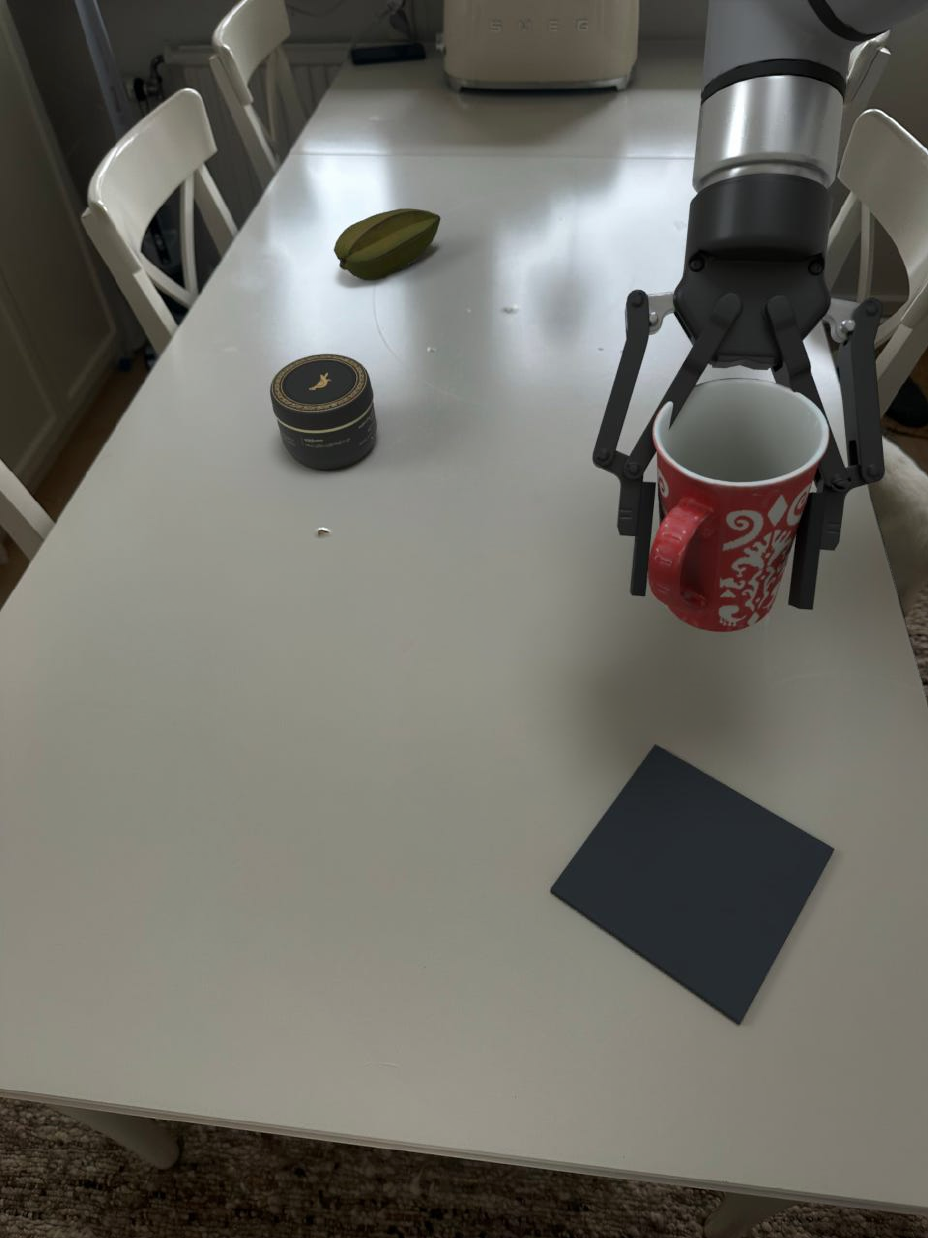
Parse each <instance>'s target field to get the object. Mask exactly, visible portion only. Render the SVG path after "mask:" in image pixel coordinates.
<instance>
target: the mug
mask: <svg viewBox="0 0 928 1238" xmlns="http://www.w3.org/2000/svg"><path fill="white" fill-rule="evenodd" d="M672 409H673V403H672V402H667V403H666V404H665V405H664V406H663V407H662V408H661V410H660V411H659V412H658V414H657V416H656V418H655V421H654V424H653V430H652V436H653V442H654V445H655V448H656V450H657V452H656V479H657V481H656V483H657V501H658V516H659V517H658V523H659V527H658V529H657V531H656V534H655V537H654V539H653V541H652V542H651V543H652V544H651V546H650V554H649V563H648V574H647V583H648V586H649V589H650V592H651V594H652V595H653V596H654V597H655V598H656V599H657V600H658V601H659V602H661V603H662V604H663V605H665V606H667V608H668V609H669V611H670V612H671V613H672V614H673V615H674V616H675V617H676V618H677V619H679V620H680V621H682V622H683V623H685V624H687V625H689V626H690V627H694V628H696V629H699V630H703V631H707V632H714V633H731V632H737V631H741V630H744V629H747V628H750V627H752V626H754V625H755V624H757V623H758V622H760V621H762V620H763V619H764V618H765V617H766V616H768V614H769V612H770V611H771V610H772V608H773V606H774V604H775V601H776V598H777V596H778V593H779V589H780V586H781V583H782V579H783V577H784V572H785V570H786V566H787V563H788V560H789V557H790V553H791V550H792V548H793V545H794V543H795V538H796V532H797V529H798V526H799V523H800V519H801V516H802V513H803V510H804V508H805V504H806V501H807V498H808V495H809V493H811V489H812V485H813V483H814V481H813V479H814V476H815V473H816V470H817V467H818V464H819V461H820V460H821V459H822V457H823V456H824V454H825V452H826V450H827V447H828V443H829V427H828V424H827V420H826V418H825V416H824V415H823V414H822V412H821V410H820V409H819V408H818V407H817V406H816V405H815V404H814V403H813V402H812V401H811V400H809V399H808V398H807V397H805V396H804V395H802V394H801V393H798V392H793V391H792V389H791V388H789V387H787V386H784V385H781V384H777V383H776V382H775V381H774V382H773V381H769V380H764V379H759V378H749V377H748V378H747V377H728V378H719V379H713V380H707V381H704V382H701V383H696V385H695V387H694V388H693V390H692V392H691V394H690V395H689V397H688V399H687V400H686V402H685V404H684V406H683V407H682V409H681V411H680V412H679V414H678V416H677V417H676V419H675V421H674V423H673V424H672V426H671V428H670V429H669V425H670V419H671V414H672Z"/></svg>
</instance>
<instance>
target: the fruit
mask: <svg viewBox="0 0 928 1238" xmlns="http://www.w3.org/2000/svg"><path fill="white" fill-rule="evenodd" d="M440 222H441V216H440V214H437V213H435V212H433V211H429V210H425V209H419V208H408V207H407V208H405V207H404V208H397V209H393V210H387V211H383V212H379V213H375V214H373V215H370V216H369V217H367V218H364V219H362V220H359V221H357V222H354V223H352V224H350V225H349V226H348V227H347V228H345V229H344V230H343V231H342V233H340V234H339V236H338V238H337V239H336V241H335V244H334V248H333V252H334V254H335V257H336V259H337V260H338V261H339V268H340V269H342V270H344V271H347V272H349V273H350V274H351V275H352V276H354V277H355V278H358V279H361V280H363V281H375V280H380V279H384V278H387V277H388V276H390V275H393V274H396V273H398V272H400V271H401V270H404V269H405V268H407V266H409V265H410V264H412V263H414V262H415V261H416V260H417V259H419V258H420V257H421V256H422V255H423V254H424V253H425V252H426V250H427V249H428V248H430V246H431V245H432V244H433V242H434V239H435V237H436V235H437V233H438V230H439V226H440Z"/></svg>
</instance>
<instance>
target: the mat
mask: <svg viewBox="0 0 928 1238" xmlns="http://www.w3.org/2000/svg"><path fill="white" fill-rule="evenodd" d="M834 851H835V847H832V846H831V845H829V844H827V843H825V842H824V841H822V840H820V839H819V838H817V837H815V836H814V835H812V834H810V833H808V832H807V831H805V830H803V829H801V828H800V827H798V826H797V825H795V824H793V823H792V822H790V821H788V820H787V819H784V818H783V817H781V816H780V815H778V814H776V813H774V812H773V811H771V810H770V809H767V808H766V807H764V806H763V805H761V804H759V803H757V802H755V801H753V800H752V799H750V798H748V797H747V796H745V795H744V794H742V793H741V792H739V791H736V790H735V789H733V788H732V787H730V786H728V785H727V784H724V783H723V782H721V781H719V780H718V779H717V778H715V777H712V776H711V775H709V774H707V773H706V772H704V771H702V770H700V769H699V768H697V767H696V766H694V765H692V764H690V763H689V762H687V761H686V760H683V759H682V758H680V757H678V756H676V755H675V754H673V753H672V752H670V751H668V750H666V749H665V748H663V747H661V746H660V745H658V744H656V743H655V744H654V745H653V746H652V748H651V749H650V750H649V752H648V753H647V754H646V755H645V757H644V759H643V760H642V761H641V762H640V764H639V765H638V767H637V769H636V770H635V771H634V772H633V774H632V775H631V777H630V778H629V779H628V781H627V782H626V783H625V785H624V786H623V788H622V789H621V790H620V792H619V793H618V794H617V796H616V797H615V799H614V800H613V801H612V803H611V804H610V806H609V807H608V809H606V811H605V813H604V814H603V815H602V817H601V818H599V820H598V822H597V824H596V825H595V827H594V828H593V829H592V830H591V832H590V833H589V834H588V836H587V837H586V838H585V840H584V842H583V843H582V844H581V846H580V847H579V848H578V850H577V851H576V852H575V854H574V855H573V857H572V858H571V859H570V861H569V862H568V863H567V865H566V866H565V868H564V869H563V870H562V872H561V873H560V874H559V876H558V878H557V879H556V880H555V881H554V883H553V884H552V885H551V887H550V890H549V892H550V893H551V894H552V895H554V896H555V897H557V898H558V899H559V900H561V901H563V902H564V903H565V904H566V905H568V906H569V907H571V908H572V909H574V910H575V911H576V912H577V913H580V914H581V915H582V916H584V917H585V918H587V920H589V921H591V922H592V923H594V924H595V925H597V927H599V928H600V929H602V930H603V931H605V932H606V933H607V934H609V935H610V936H611V937H613V938H615V939H616V940H618V941H619V942H621V943H622V944H624V945H625V946H626V947H628V948H629V949H630V950H632V951H633V952H635V953H636V954H637V955H639V956H640V957H642V958H643V959H645V960H646V961H647V962H649V963H650V964H651V965H653V966H654V967H656V968H657V969H659V970H660V971H662V972H663V973H664V974H666V975H667V976H668V977H670V978H672V979H673V980H674V981H676V982H677V983H679V984H680V985H681V986H683V987H685V989H687V990H689V991H690V992H691V993H693V994H694V995H696V996H697V997H698V998H700V999H701V1000H703V1001H704V1002H705V1003H707V1004H708V1005H710V1006H711V1007H712V1008H714V1009H715V1010H717V1011H718V1012H719V1013H720V1014H722V1015H724V1016H726V1017H727V1018H728V1019H730V1020H731V1021H732V1022H734V1023H735V1024H737V1025H740V1024H741V1023H742V1022H743V1020H744V1018H745V1017H746V1014H747V1013H748V1010H749V1009H750V1007H751V1005H752V1003H753V1002H754V999H755V997H756V996H757V995H758V992H759V990H760V988H761V986H762V984H763V983H764V981H765V979H766V977H767V975H768V973H769V972H770V970H771V968H772V966H773V965H774V963H775V960H776V958H777V957H778V955H779V954H780V951H781V949H782V948H783V946H784V944H785V942H786V940H787V938H788V937H789V934H790V933H791V931H792V929H793V927H794V925H795V924H796V922H797V920H798V918H799V916H800V914H801V912H802V911H803V909H804V907H805V905H806V903H807V901H808V899H809V898H810V896H811V894H812V893H813V890H814V889H815V886H816V884H817V883H818V881H819V879H820V878H821V875H822V873H823V872H824V870H825V868H826V866H827V864H828V862H829V861H830V858H831V857H832V855H833V853H834Z"/></svg>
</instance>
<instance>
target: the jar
mask: <svg viewBox="0 0 928 1238" xmlns="http://www.w3.org/2000/svg"><path fill="white" fill-rule="evenodd" d="M374 394H375V393H374V390H373V386H372V381H371V377H370V374H369V373H368V370H367V368H366V367H365V366H364V365H363V364H362V363H361V362H360V361H357V360H356V359H354V358H352V357H350V356H346V355H342V354H337V353H319V354H312V355H307V356H303V357H300V358H298V359H295V360H293V361H292V362H290V363H288V364H287V365H285V366H283V367H282V368H280V370H278V371H277V373H276V374H275V375H274V376H273V379H272V381H271V383H270V386H269V395H270V401H271V406H272V412H273V414H274V417H275V418H276V423H277V426H278V430H279V433H280V437H281V440H282V442H283V444H284V447H285V449H286V450H287V451H288V453H289V454H290V456H291V457H292V458H293V459H294V460H295V461H296V462H297V463H299V464H301V465H303V466H305V467H307V468H311V469H314V470H320V471H333V470H339V469H343V468H346V467H350V466H351V465H354V464H356V463H357V462H359V461H361V460H362V459H363V458H364V457H365V456H366V455H367V454H368V453H369V452H370V450H371V449H372V447H373V446H374V443H375V440H376V437H377V436H376V435H377V426H378V424H377V423H378V422H377V415H376V409H375V403H374V399H375V396H374Z"/></svg>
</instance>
